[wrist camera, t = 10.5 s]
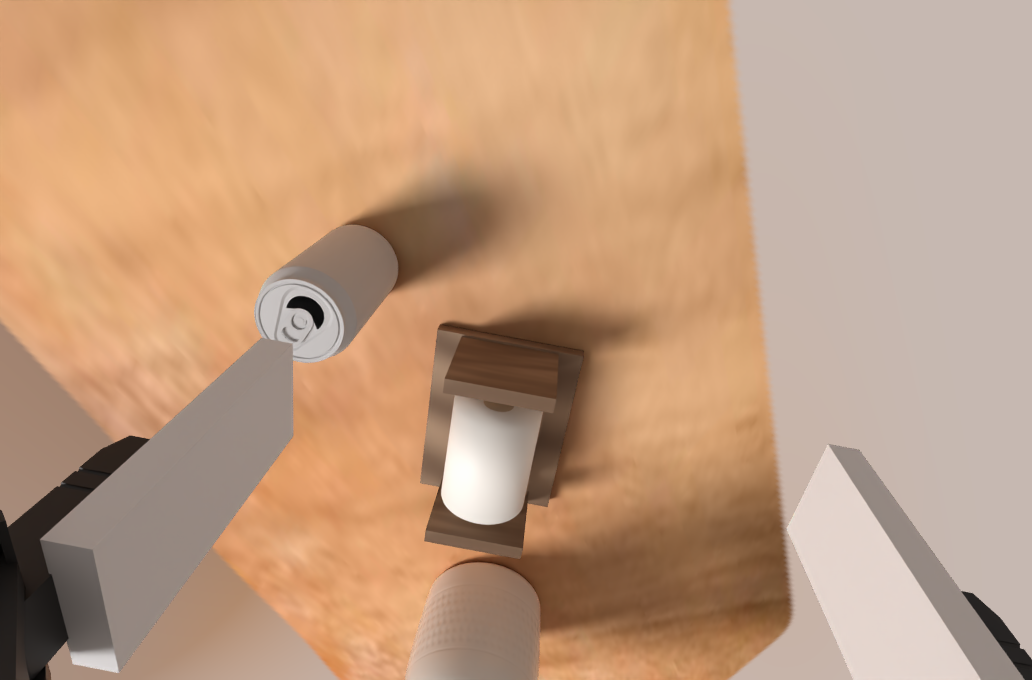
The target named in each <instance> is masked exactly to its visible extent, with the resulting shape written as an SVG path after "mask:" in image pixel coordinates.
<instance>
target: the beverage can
mask: <svg viewBox="0 0 1032 680" xmlns="http://www.w3.org/2000/svg"><path fill="white" fill-rule="evenodd" d="M397 277H398V261H397V257H396V255H395V253H394V250H393V249H392V247H391V245H390V244H389V242H388V241H387V240H386V239H385V238H384V237H383V236H382V235H380V234H379V233H378V232H376V231H374V230H372V229H370V228H368V227H365V226H361V225H345V226H341V227H338V228H336V229H334V230H332V231H331V232H330V233H328V234H327V235H325V236H324V237H323V238H321V239H320V240H319V241H317V242H316V243H314V244H313V245H312V246H310V247H309V248H308V249H306V250H305V251H304V252H302V253H301V254H299V255H298V256H297V257H295V258H294V259H293V260H291V261H290V262H288V263H287V264H286V265H284V266H283V267H282V268H280V269H279V270H277V271H276V272H275V273H273V274H272V275H271V276H270V277H269V278H268V279H267V280H266V281H265V282H264V284H263V286H262V288H261V290H260V294H259V296H258V298H257V301H256V304H255V310H254V315H255V321H256V325H257V328H258V330H259V332H260V334H261V336H262V337H263V338H265V339H271V340H276V341H281V342H287V343H292V344H293V360H294V361H298V362H304V363H312V362H318V361H322V360H324V359H326V358H328V357H332V356H334V355H337V354H338V353H340V352H342V351H343V350H344V349H345V348H346V347H347V346H348V345H349V344H350V343H351V341H352V340H353V339H354V338H355V336H356V335H357V334H358V332H359V331H360V330H361V329H362V327H363V326H364V325H365V323H366V322H367V321H368V320H369V318H370V317H371V316H372V314H373V313H374V312H375V311H376V309H377V308H378V307H379V305H380V304H381V303H382V302H383V300H384V299H385V298H386V296H387V295H388V294H389V293H390V291H391V290H392V289H393V287H394V285H395V283H396V280H397Z"/></svg>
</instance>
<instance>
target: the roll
mask: <svg viewBox="0 0 1032 680" xmlns="http://www.w3.org/2000/svg"><path fill="white" fill-rule="evenodd" d="M542 414H543V412H542V411H537V410H532V409H526V408H521V407H516V406H510V405H505V404H499V403H494V402H489V401H483V400H478V399H473V398H467V397H462V396H456V395H455V397H454V404H453V411H452V418H451V425H450V432H449V439H448V447H447V454H446V461H445V468H444V475H443V482H442V489H441V496H442V500H443V502H444V504H445V506H446V507H447V508H448V509H449V510H450V511H451V512H452V513H453V514H455V515H456V516H458V517H460V518H462V519H464V520H466V521H469V522H472V523H477V524H485V525H492V524H500V523H504V522H507V521H509V520H511V519H513V518H514V517H516V516H517V515H518V514H519V513H520V511H521V510H522V507H523V504H524V499H525V494H526V490H527V485H528V480H529V476H530V471H531V466H532V461H533V457H534V452H535V447H536V443H537V438H538V433H539V429H540V424H541V419H542Z"/></svg>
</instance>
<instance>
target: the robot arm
mask: <svg viewBox="0 0 1032 680" xmlns="http://www.w3.org/2000/svg"><path fill="white" fill-rule="evenodd" d="M292 437H293V344H292V343H287V342H281V341H276V340H271V339H265V338H261V339H260V340H259V341H258V342H257V343H255V344H254V345H253V346H252V347H251V348H250V349H249V350H248V351H247V352H246V353H244V354H243V355H242V356H241V357H240V358H239V359H238V360H237V361H236V362H235V363H233V364H232V365H231V366H230V367H229V368H228V369H227V370H226V371H225V372H224V373H222V374H221V375H220V376H219V377H218V378H217V379H216V380H215V381H214V382H213V383H211V384H210V385H209V386H208V387H207V388H206V389H205V390H204V391H203V392H202V393H200V394H199V395H198V396H197V397H196V398H195V399H194V400H193V401H192V402H191V403H189V404H188V405H187V406H186V407H185V408H184V409H183V410H182V411H181V412H180V413H178V414H177V415H176V416H175V417H174V418H173V419H172V420H171V421H170V422H169V423H167V424H166V425H165V426H164V427H163V428H162V429H161V430H160V431H159V432H158V433H156V434H155V435H154V436H153V437H152V438H151V439H146V438H140V437H135V436H128V437H126V438H124V439H122V440H120V441H118V442H115V443H113V444H111V445H109V446H108V447H105V448H103V449H101V450H100V451H99V452H98V453H96V454H95V455H94V456H93V457H91V458H90V459H89V460H88V461H87V462H85V463H84V464H83V465H82V466H81V467H80V468H79V471H78V472H77V471H75V472H74V473H72V474H71V475H70V476H69V477H68V478H66V479H65V480H64V481H63V482H62V483H61V486H60V487H58V486H57V487H56V488H54V489H53V490H52V491H51V492H50V493H48V494H47V495H46V496H45V497H44V498H42V499H41V500H40V501H39V502H38V503H36V504H35V505H34V506H33V507H32V508H31V509H29V510H28V511H27V512H26V513H24V514H23V515H22V516H21V517H20V518H19V519H17V520H16V521H15V522H14V523H12V524H11V525H10V526H9V527H7V524H6V521H5V518H4V515H3V513H2V511H1V510H0V680H51V673H50V670H49V666H48V662H49V661H50V660H51V658H52V657H53V656H54V655H55V654H56V653H57V651H58V650H59V649H60V648H61V647H62V646H63V644H64V643H65V642H66V641H67V644H68V647H69V651H70V655H71V659H72V663H73V664H75V665H80V666H85V667H91V668H96V669H101V670H106V671H111V672H117V673H119V672H120V671H121V670H122V668H123V666H125V664H126V663H127V661H128V660H129V659H130V657H131V656H132V655H133V653H134V652H135V650H136V649H137V648H138V646H139V645H140V644H141V642H142V641H143V640H144V638H145V637H146V636H147V634H148V633H149V632H150V630H151V629H152V627H153V626H154V625H155V623H156V622H157V621H158V619H159V618H160V617H161V615H162V614H163V613H164V611H165V610H166V608H167V607H168V606H169V604H170V603H171V602H172V600H173V599H174V598H175V596H176V595H177V593H178V592H179V591H180V589H181V588H182V587H183V585H184V584H185V582H186V581H187V580H188V579H189V577H190V576H191V574H192V573H193V572H194V570H195V569H196V568H197V566H198V565H199V564H200V562H201V561H202V559H203V558H204V557H205V555H206V554H207V553H208V551H209V550H210V549H211V547H212V546H213V544H214V543H215V542H216V540H217V539H218V538H219V536H220V535H221V534H222V532H223V531H224V530H225V528H226V527H227V525H228V524H229V523H230V521H231V520H232V519H233V517H234V516H235V515H236V513H237V512H238V510H239V509H240V508H241V506H242V505H243V504H244V502H245V501H246V500H247V498H248V497H249V496H250V494H251V493H252V491H253V490H254V489H255V487H256V486H257V485H258V483H259V482H260V481H261V479H262V478H263V476H264V475H265V474H266V472H267V471H268V470H269V468H270V467H271V466H272V464H273V463H274V462H275V460H276V459H277V457H278V456H279V455H280V453H281V452H282V451H283V449H284V448H285V447H286V445H287V444H288V442H289V441H290V440H291V438H292ZM786 530H787V532H788V534H789V536H790V539H791V541H792V543H793V545H794V548H795V550H796V552H797V554H798V557H799V559H800V561H801V563H802V565H803V568H804V570H805V572H806V574H807V577H808V579H809V581H810V583H811V585H812V588H813V590H814V592H815V595H816V597H817V599H818V601H819V604H820V606H821V608H822V610H823V613H824V615H825V617H826V619H827V622H828V624H829V626H830V628H831V630H832V633H833V635H834V637H835V640H836V642H837V644H838V646H839V649H840V651H841V653H842V655H843V657H844V660H845V662H846V664H847V666H848V669H849V671H850V673H851V675H852V677H853V679H854V680H1032V659H1031V658H1030V657H1029V655H1028V654H1027V653H1026V651H1025V650H1024V649H1020V643H1019V642H1018V641H1017V640H1016V638H1015V637H1014V635H1013V634H1012V633H1011V632H1010V630H1009V629H1008V628H1007V626H1006V625H1005V624H1004V622H1003V621H1002V620H1001V618H1000V617H999V616H998V615H996V614H995V613H994V612H993V611H992V610H991V609H990V608H988V607H987V606H986V605H985V604H984V603H983V602H982V601H981V600H979V599H978V598H977V597H976V596H975V595H974V594H973V593H968V592H963V591H960V589H959V588H958V586H957V585H956V584H955V582H954V581H953V580H952V578H951V577H950V575H949V574H948V573H947V571H946V570H945V568H944V567H943V566H942V564H941V563H940V561H939V560H938V559H937V557H936V556H935V554H934V553H933V552H932V550H931V549H930V547H929V546H928V545H927V543H926V542H925V541H924V539H923V538H922V536H921V535H920V534H919V532H918V531H917V529H916V528H915V527H914V525H913V524H912V522H911V521H910V520H909V518H908V517H907V515H906V514H905V513H904V512H903V510H902V508H901V507H900V506H899V504H898V503H897V502H896V500H895V499H894V497H893V496H892V495H891V493H890V492H889V490H888V489H887V488H886V486H885V485H884V484H883V482H882V481H881V479H880V478H879V477H878V475H877V474H876V472H875V471H874V470H873V469H872V467H871V465H870V464H869V463H868V461H867V460H866V458H865V457H864V456H863V455H862V453H861V452H860V450H857V449H852V448H846V447H841V446H836V445H830V444H828V445H827V447H826V449H825V451H824V453H823V455H822V457H821V459H820V461H819V463H818V465H817V467H816V469H815V471H814V473H813V476H812V478H811V479H810V481H809V484H808V486H807V488H806V490H805V492H804V494H803V496H802V498H801V500H800V502H799V504H798V506H797V508H796V510H795V512H794V514H793V516H792V518H791V520H790V522H789V524H788V526H787V528H786Z"/></svg>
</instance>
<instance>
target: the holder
mask: <svg viewBox="0 0 1032 680" xmlns="http://www.w3.org/2000/svg"><path fill="white" fill-rule="evenodd" d="M583 357H584V352H583V351H581V350H576V349H570V348H565V347H559V346H554V345H549V344H543V343H538V342H532V341H527V340H522V339H516V338H511V337H505V336H500V335H494V334H489V333H484V332H478V331H473V330H467V329H462V328H457V327H451V326H446V325H440V326H439V328H438V331H437V339H436V348H435V357H434V366H433V375H432V384H431V392H430V401H429V410H428V419H427V428H426V437H425V445H424V454H423V463H422V472H421V481H420V483H422V484H428V485H433V486H438V487H439V490H438V493H437V496H436V499H435V502H434V506H433V509H432V512H431V515H430V518H429V522H428V525H427V528H426V532H425V541H426V542H432V543H437V544H442V545H448V546H453V547H458V548H464V549H469V550H474V551H479V552H485V553H490V554H495V555H501V556H506V557H511V558H517V559H521V554H522V550H523V541H524V532H525V522H526V513H527V503H529V504H534V505H539V506H545V507H548V503H549V498H550V494H551V490H552V486H553V482H554V478H555V474H556V469H557V465H558V461H559V457H560V453H561V449H562V444H563V440H564V436H565V432H566V428H567V424H568V419H569V415H570V411H571V407H572V403H573V399H574V395H575V390H576V386H577V382H578V378H579V374H580V370H581V365H582V361H583ZM455 395H456V396H462V397H467V398H473V399H478V400H483V401H489V402H494V403H499V404H505V405H510V406H516V407H521V408H526V409H532V410H537V411H542V412H543V414H542V419H541V424H540V429H539V433H538V438H537V443H536V447H535V452H534V457H533V461H532V466H531V471H530V476H529V480H528V485H527V490H526V494H525V499H524V504H523V507H522V510H521V511H520V513H519V514H518V515H517V516H516V517H514V518H513V519H511V520H509V521H507V522H504V523H500V524H492V525H485V524H477V523H472V522H469V521H466V520H464V519H462V518H460V517H458V516H456V515H455V514H453V513H452V512H451V511H450V510H449V509H448V508H447V507H446V506H445V504H444V502H443V500H442V496H441V489H442V482H443V475H444V468H445V461H446V454H447V447H448V439H449V432H450V425H451V418H452V411H453V404H454V397H455Z"/></svg>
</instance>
